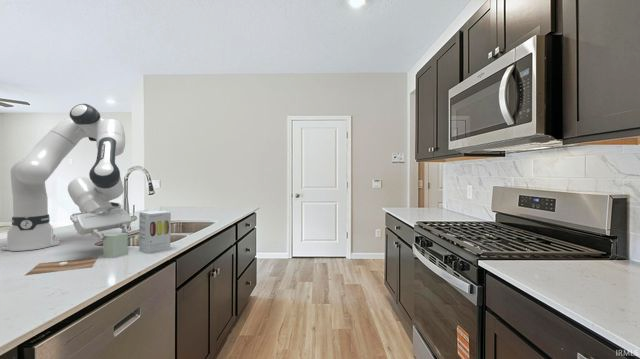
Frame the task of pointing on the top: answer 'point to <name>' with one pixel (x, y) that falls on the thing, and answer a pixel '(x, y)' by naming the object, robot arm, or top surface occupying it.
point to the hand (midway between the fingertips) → (114, 236)
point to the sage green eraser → (115, 245)
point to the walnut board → (70, 266)
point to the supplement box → (154, 231)
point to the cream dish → (63, 264)
